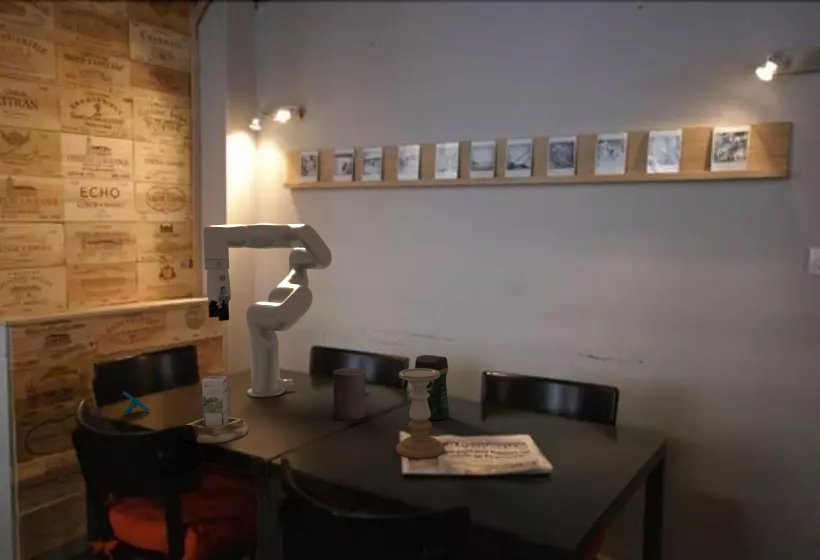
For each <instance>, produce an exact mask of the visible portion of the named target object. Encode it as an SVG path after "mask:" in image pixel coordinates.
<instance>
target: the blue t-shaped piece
mask: <svg viewBox="0 0 820 560" xmlns="http://www.w3.org/2000/svg"><path fill="white" fill-rule="evenodd" d="M122 395H124V397H126V398H128V399H129V400H128V401H129V402H128V405H127V407H126V408H125V409H124V410H123V412H124V416H126V415H127V416H128V415H129V414H130V413H131V411H133V409H135V408H136V407H137V406H138V407H139V408H141V409H142V410H144V411H146V412H147V413H149V412H150V411H151V409H149V408H148V407H147V406H145V405H144V404H143V403H142V402H141V400H140V399H139V398H135V397H133V396H132V395H131V394H129V393H128V392H126V390H125V391H123V392H122ZM125 411H126V412H125Z"/></svg>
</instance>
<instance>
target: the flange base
mask: <svg viewBox="0 0 820 560" xmlns="http://www.w3.org/2000/svg"><path fill="white" fill-rule="evenodd" d="M228 422H229V423H228V424H225V425H223V426H220V427H217V428H211V427H205V426H204V418H201V419H197V420H195V421H192V422H190V423H187V424H185V425H192V426H193V427H194V429H195V431H196V436H197V442H198V443H197V444H217V443H224V442H228V441H229V442H230V441H232V440H237V439H239V438H241V437H243V436H245V435H246V434H247V433H248V432H249V425H248V424H247V422H244V418H238V417H231V416H228Z"/></svg>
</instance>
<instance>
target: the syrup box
mask: <svg viewBox="0 0 820 560" xmlns="http://www.w3.org/2000/svg"><path fill="white" fill-rule="evenodd" d="M201 389H202V413H203V418H204V426H205V427H211V428H217V427H220V426H223V425H225V424H228V423H229V422H228V417H229V402H228V399H229V398H228V377H227V375H225V376H224V375H219V376H217V375H215V376H213V375H212V376H205V377H204V378H203V380H201ZM203 418H202V419H203Z"/></svg>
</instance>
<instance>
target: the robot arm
mask: <svg viewBox="0 0 820 560" xmlns="http://www.w3.org/2000/svg"><path fill="white" fill-rule="evenodd" d="M202 231H203V232H202V233H203V235H202V237H203V259H204V262H203V263H204V271H206V295H207V299H208V303H207V304H208V317H209V318H210V319H212V318H218V321H219V322H222V321H230V305H229V303H230V300H232V292H231V291H232V289H231V279H230V272H229V270H230V253H229V252H230V250H229V249H230V248H231V249H244V248H250V249H258V250H259V249H260V250H261V249H264V250H265V249H292V250H291V251H290V252H289V256H288V264H289V265H288V274H287V275H286V276H285V277H284V278H283V279H282V280H281V281H280V282H279V283H278V284H276V285H275V286H274V287H273V288H272V290H271V291H270V293H269V294H268V297H267V300H268V301H256V302H253V303H252V304H250V306H248V308H247V311H246V314H245V315H246V316H245V318H246V324H247V328H248V332H249V344H250V345H249V346H250V376H251V378H250V379H251V388H248V389H247V391H246V394H247V395H248V396H249V397H253V398H270V397H277V396H280V395H282V394H284V393H285V388H284V387H286V386H293V385H294V380H293V379H291V378H289V379H287V378H286V379H285V378H284V379H282V378H280V347H279V346H280V345H279V337H278V336H277V335H278V334H277V333H276V332H286V331H288V330H290V329H292V328H293V327H294V326H295V325H296V324H297V323H298V322H299V321H300V320H301V319H302V318H303V317H304V315H305V314H306V313H307V312H308V311H309V310H310V308H311V306H312V303H313V293H312V290H311V289H310V288H309V282H310V280H309V276H308V270H324V269H327V268H329V266H330V265H331V263H332V260H333V258H332V257H333V256H332V253H331V249H330V248H329V246H328V245H327V244H326V242H325V241H324V240H323V238H322V237H321V236H320V235H319V233H318V232H317V230H316V229H315V228H313V226H311V225H310V224H306V223H298V224H297V223H292V224H291V223H255V224H253V223H252V224H220V225H219V224H218V225H206V226H205V227H204V228H203V230H202Z"/></svg>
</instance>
